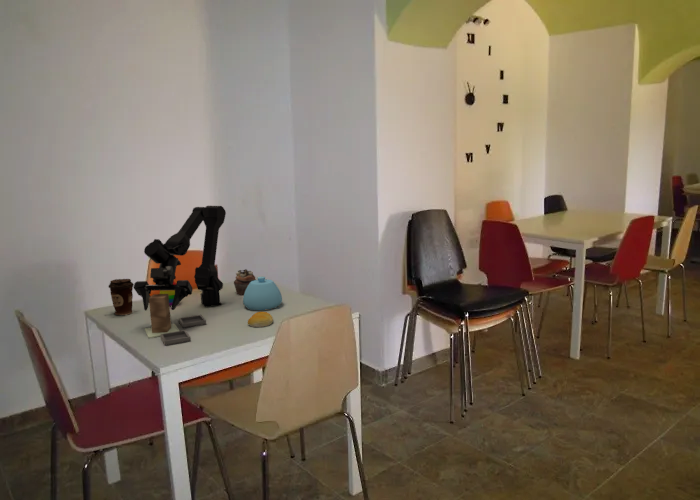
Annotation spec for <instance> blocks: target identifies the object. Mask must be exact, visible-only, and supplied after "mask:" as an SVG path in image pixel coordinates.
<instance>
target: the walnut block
mask: <svg viewBox="0 0 700 500" xmlns="http://www.w3.org/2000/svg"><path fill="white" fill-rule="evenodd" d="M150 296H151V297H150V298H149V305H148V307H149V314H150V315H149V317H150V323H151V325H150V326H151V328H152V333H163V332H168V331H169V330H170V329H171V324H172V321H171V310H170V309H171V308H170V307H171V306H169V297H168V294H160V293H155V294H154V293H153V294H152V295H150Z"/></svg>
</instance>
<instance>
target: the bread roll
mask: <svg viewBox="0 0 700 500" xmlns="http://www.w3.org/2000/svg"><path fill="white" fill-rule="evenodd" d="M273 322H274V318H273V316H272V315H271V313H269V312H267V311H257V312H255V313H254V314H252V316H251V317H250V318H248V320H247V325H248V326H249V325H250V326H249V327H252V328H264V326H265V327H268V326H270V325H271V324H272V323H273Z"/></svg>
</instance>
